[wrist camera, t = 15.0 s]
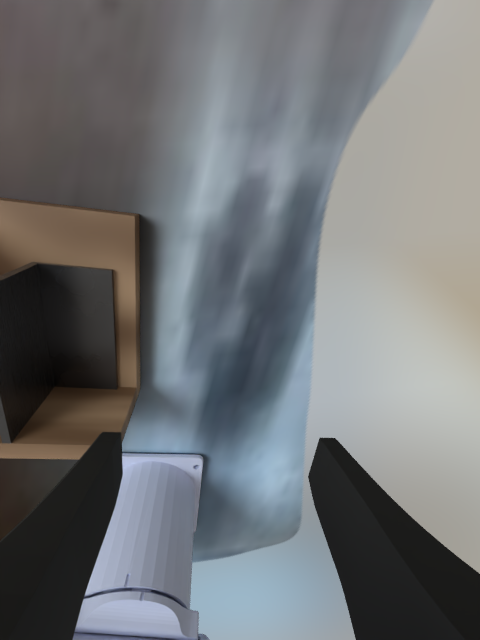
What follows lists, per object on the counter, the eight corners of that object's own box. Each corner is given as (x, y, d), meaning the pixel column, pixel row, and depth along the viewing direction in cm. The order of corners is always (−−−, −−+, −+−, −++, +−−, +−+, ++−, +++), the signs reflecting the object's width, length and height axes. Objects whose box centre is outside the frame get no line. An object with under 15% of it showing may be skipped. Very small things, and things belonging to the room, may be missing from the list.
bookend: (118, 386, 20) (91, 445, 16) (50, 383, 20) (2, 443, 15) (113, 269, 17) (78, 299, 13) (32, 261, 17) (-35, 290, 12)
